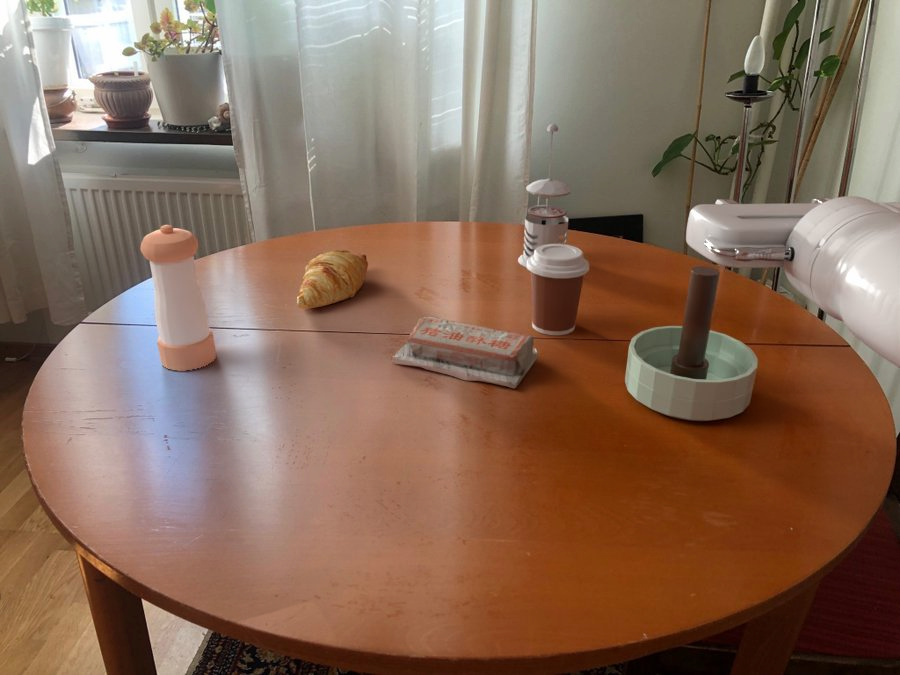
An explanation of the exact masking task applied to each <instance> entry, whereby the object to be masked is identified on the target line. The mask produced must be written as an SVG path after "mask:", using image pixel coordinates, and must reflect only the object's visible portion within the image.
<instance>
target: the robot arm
mask: <svg viewBox="0 0 900 675" xmlns="http://www.w3.org/2000/svg"><path fill="white" fill-rule="evenodd" d="M685 241H686V244H687V245H688V246H689V247H690V248H691V249H693V250H694V251H695V252H696V253H698V254H700V255H701V256H703V257H704V258H706V259H708V260H709V261H711V262H713V263H715V264H717V265H720V266H722V267H727V268H728V267H729V268H734V269H735V268H737V269H757V268H758V269H760V268H761V269H763V268H764V269H765V268H783V269H784V273H785V276H786V278H787V280H788V282H789V283H790V285H791V286H792V288H794V289H795V290H796V291H798V293H800V294H801V295H803V296H804V297H805V298H806V299H808V300H809V301H810V302H811V303H813V304H814V305H815V306H817V308H818V309H820V310H821V311H823V312H824V313H825V314H827V315H828V316H830V317H831V318H833V319H835V320H838V321H840V322H842V323H844V325H845V327H846V328H847V329H848V331H849V332H850V334H852V335H853V336H854V337H855V338H857V339H858V341H860V342H862V343H863V344H864V345H866V346H867V347H868V348H869V349H871V350H872V351H873V352H874V353H876V354H877V355H879V356H881V357H882V358H883V359H885V360H886V361H888V362H889V363H891V364H892V365H894V366H895V367H897V368H899V369H900V202H899V201H890V202H889V201H885V202H883V201H882V202H874V201H873V200H871V199H869V198H866V197H863V196H862V197H861V196H856V195H847V196H845V195H844V196H838V197H835V198H830V197H825V198H824V197H820V198H819V197H818V198H812V199H811V201H810V202H808V203H807V202H800V203H799V202H797V203H795V202H793V203H790V202H789V203H738V201H736V200H734V199H725V198H724V199H723V198H722V199H721V198H719V199H718V198H717V199H716V201H715V203H710V204H709V203H702V204H701V203H700V204H697V205H695V206H694V207H693V208H691V210H690V211H689V215H688V219H687V223H686V233H685Z"/></svg>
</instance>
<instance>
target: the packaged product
mask: <svg viewBox="0 0 900 675" xmlns="http://www.w3.org/2000/svg"><path fill="white" fill-rule="evenodd" d="M534 340H535V339H534V337H533V336H532V335H528V334H522V333H519V332H514V331H507V330H504V329H498V328H493V327H487V326H482V325H477V324H472V323H466V322H462V321H461V322H460V321H455V320H450V319H445V318H440V317H435V316H425V317H421V318H419V319H418V321H417V322H416V325H415V326H414V327H413V329H412V331H410V333H409V335H408V339H407V342H406V343H405V344H404V345H402V347H401V348H400V349H398V350H397V351H396V352H395V354H394V355H393V356H391V360H392V364H395V365H402V366H410V367H417V368H422V369H424V370H428V371H432V372H437V373H440V374H444V375H449V376H451V377H454V378H456V379H457V378H458V379H460V380H463V381H471V382H472V381H475V382H477V381H478V382H483V383H488V384H494V385H498V386H503V387H506V388H507V387H508V388H510V389H516V388H517V387H518V385H519V384H520V382H521V381H522V380H523V379H524V377H525V376H526V375H527V373H528V372H529V370H530V369H531V368H532V367H533V365H534V363H535V362H536V360H537V359H538V356H539V354H538V350H537V349H536V348H535V347H534V344H535V342H534Z"/></svg>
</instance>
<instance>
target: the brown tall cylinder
mask: <svg viewBox="0 0 900 675" xmlns="http://www.w3.org/2000/svg"><path fill="white" fill-rule="evenodd" d="M719 280H720V270H718V269H717V268H714V267H712V266H706V265H705V266H704V265H697V266H694V267H692V268H691V270H690V276H689V282H688V289H687V295H686V301H685V308H684V314H683V319H682V320H683V321H682V325H681V326H682V333H681V339H680V345H679V352H678V354H676V355H675V356H673V358H672V364H671V371H670V374H673V375H676V376H681V377H687V378H692V379H703V380H706V378H707V372H708V367H709V362H708V360H707V359H705V354H706V349H707V343H708V337H709V332H710V330H711V325H712V320H713V314H714V309H715V302H716V297H717V291H718V284H719Z"/></svg>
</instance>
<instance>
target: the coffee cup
mask: <svg viewBox="0 0 900 675" xmlns="http://www.w3.org/2000/svg"><path fill="white" fill-rule="evenodd" d="M526 269H527V270H528V271H530V286H531V288H530V289H531V316H532V317H531V318H532V319H531V320H532V321H531V326H532V329H534V330H535V331H536V332H537V333H541V334H542V335H549V336H563V335H568V334H570V333H572V332H574V330H575V328H576V320H577V316H578V310H579V304H580V298H581V293H582V287H583V281H584V276H585V275H587V273H588V272H589V271H590V264H589V261H588V260H587V259H586V258H585V257H584V252H583V251H582V249H580V248H578V247H577V246H574V245H570V244H566V245H565V243H564V244H563V243H558V244H547V245H542V246H539V247H538V248H536V249H535V250H534V255H533V256H531V257H530V258H529V259H528V260H527V267H526Z"/></svg>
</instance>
